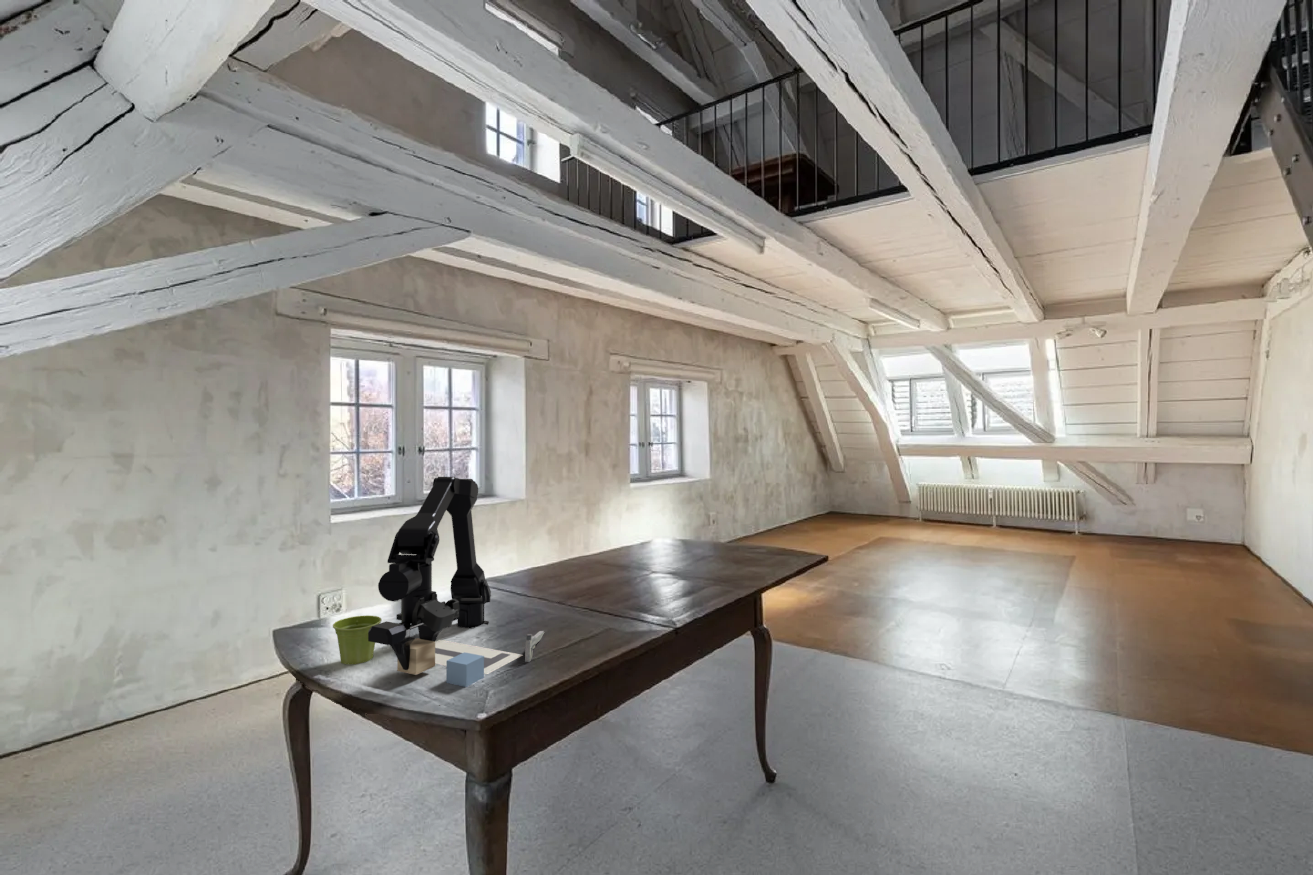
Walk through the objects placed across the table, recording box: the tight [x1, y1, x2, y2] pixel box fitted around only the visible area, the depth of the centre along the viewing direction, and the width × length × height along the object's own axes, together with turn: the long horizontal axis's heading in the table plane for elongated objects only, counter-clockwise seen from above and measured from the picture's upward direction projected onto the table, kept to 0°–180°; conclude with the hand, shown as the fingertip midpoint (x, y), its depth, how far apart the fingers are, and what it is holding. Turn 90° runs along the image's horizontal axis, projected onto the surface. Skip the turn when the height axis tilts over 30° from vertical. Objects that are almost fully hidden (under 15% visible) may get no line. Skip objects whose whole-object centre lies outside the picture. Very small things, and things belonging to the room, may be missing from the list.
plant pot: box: [332, 614, 383, 665], centre depth 128 cm, size 9×9×9 cm
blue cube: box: [445, 652, 485, 688], centre depth 117 cm, size 5×5×5 cm
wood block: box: [396, 637, 436, 676], centre depth 120 cm, size 5×5×5 cm
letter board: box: [435, 639, 523, 675], centre depth 130 cm, size 12×24×1 cm, turn 66°
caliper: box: [524, 630, 545, 663], centre depth 137 cm, size 20×1×6 cm, turn 2°
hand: (416, 664), depth 120 cm, fingers closed on wood block, 5 cm apart
